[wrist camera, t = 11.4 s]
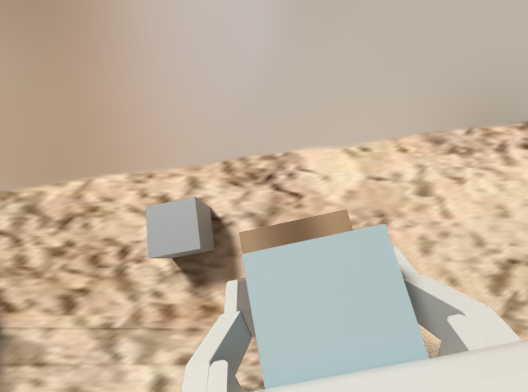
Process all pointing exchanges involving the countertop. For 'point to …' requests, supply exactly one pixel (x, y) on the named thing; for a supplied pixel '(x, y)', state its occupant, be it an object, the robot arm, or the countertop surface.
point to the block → (179, 228)
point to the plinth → (295, 231)
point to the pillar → (330, 307)
